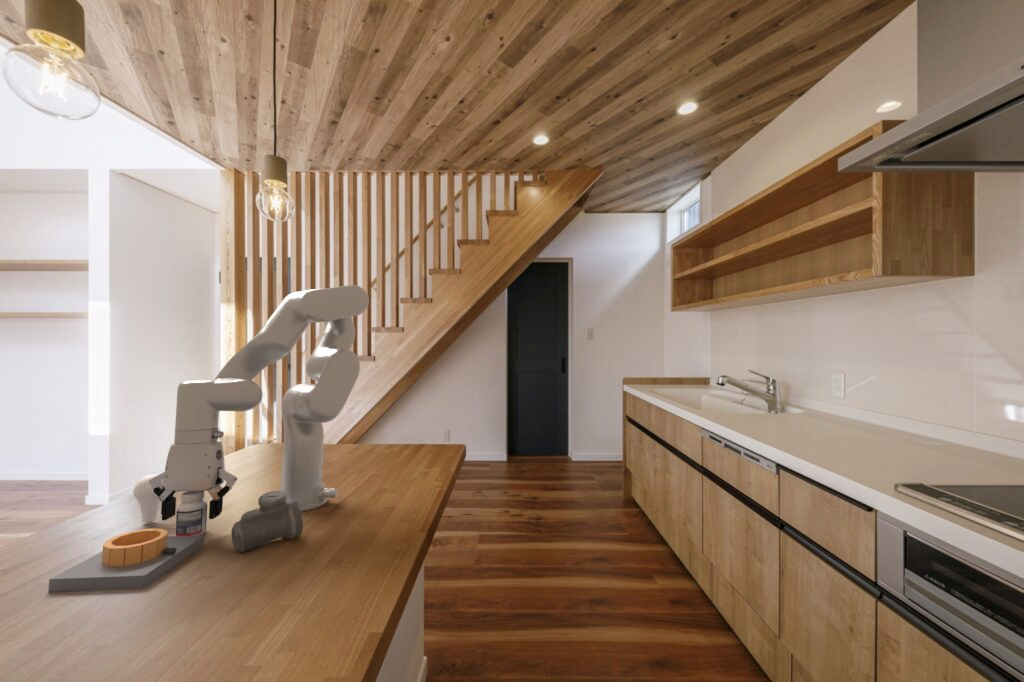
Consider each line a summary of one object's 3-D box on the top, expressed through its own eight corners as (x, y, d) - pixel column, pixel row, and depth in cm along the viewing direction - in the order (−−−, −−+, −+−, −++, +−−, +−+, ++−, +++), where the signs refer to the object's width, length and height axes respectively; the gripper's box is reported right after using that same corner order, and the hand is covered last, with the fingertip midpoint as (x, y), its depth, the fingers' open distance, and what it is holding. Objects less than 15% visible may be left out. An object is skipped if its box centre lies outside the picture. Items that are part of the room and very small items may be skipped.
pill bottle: (186, 529, 92) (188, 488, 92) (211, 529, 92) (213, 488, 93) (168, 539, 87) (171, 496, 87) (195, 539, 87) (197, 496, 88)
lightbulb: (145, 529, 91) (148, 479, 92) (123, 527, 92) (127, 477, 93) (173, 519, 97) (176, 472, 98) (152, 517, 98) (155, 470, 99)
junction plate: (203, 545, 84) (205, 520, 84) (143, 587, 68) (145, 556, 69) (127, 547, 83) (129, 522, 83) (48, 591, 67) (50, 560, 67)
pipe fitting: (292, 526, 93) (290, 482, 92) (306, 540, 88) (303, 494, 87) (229, 549, 85) (226, 501, 84) (240, 566, 79) (237, 515, 78)
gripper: (247, 433, 95) (243, 510, 94) (165, 433, 93) (160, 512, 92) (229, 439, 88) (225, 523, 87) (139, 440, 86) (134, 525, 85)
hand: (191, 517), depth 90 cm, fingers open, 8 cm apart
